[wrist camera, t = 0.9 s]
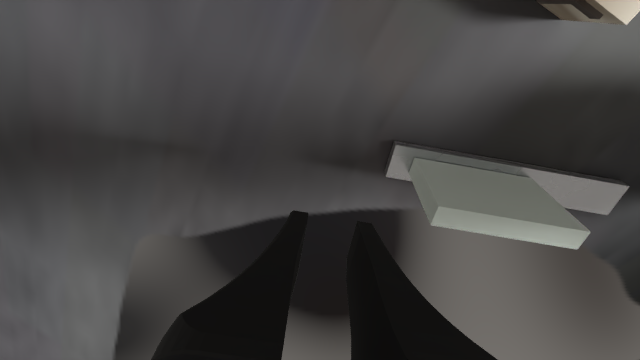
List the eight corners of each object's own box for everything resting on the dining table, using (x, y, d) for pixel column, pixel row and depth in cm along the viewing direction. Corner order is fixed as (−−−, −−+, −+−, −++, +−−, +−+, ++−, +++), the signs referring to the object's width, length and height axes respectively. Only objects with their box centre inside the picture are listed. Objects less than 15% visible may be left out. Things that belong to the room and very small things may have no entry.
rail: (620, 180, 22) (629, 186, 21) (599, 208, 23) (607, 215, 22) (393, 140, 21) (395, 144, 20) (384, 171, 22) (385, 176, 21)
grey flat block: (531, 178, 21) (590, 232, 16) (522, 193, 21) (577, 249, 17) (414, 157, 20) (438, 206, 16) (408, 173, 21) (430, 225, 16)
